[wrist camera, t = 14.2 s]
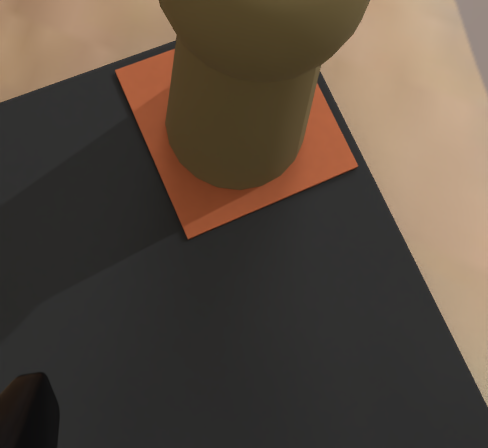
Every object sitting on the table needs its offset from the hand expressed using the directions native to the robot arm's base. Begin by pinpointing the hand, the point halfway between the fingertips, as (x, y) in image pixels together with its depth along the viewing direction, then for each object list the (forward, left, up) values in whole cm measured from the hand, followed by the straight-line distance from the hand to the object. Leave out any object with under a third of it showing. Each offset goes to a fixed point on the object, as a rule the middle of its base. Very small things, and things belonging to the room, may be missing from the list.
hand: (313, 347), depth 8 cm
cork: (+8, -3, -11) cm, 14 cm away
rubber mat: (+2, +1, -12) cm, 12 cm away
